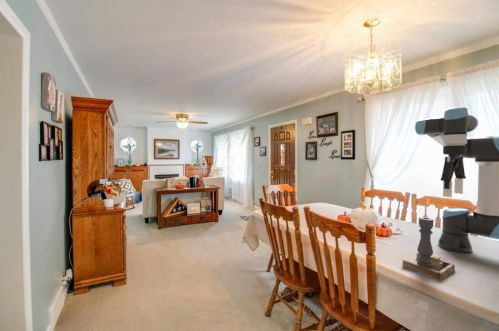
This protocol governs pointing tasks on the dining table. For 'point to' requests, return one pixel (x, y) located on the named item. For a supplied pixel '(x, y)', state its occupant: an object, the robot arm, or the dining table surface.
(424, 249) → the candle holder
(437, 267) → the offcut lower
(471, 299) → the dining table surface
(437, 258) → the offcut upper
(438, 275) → the walnut caddy
